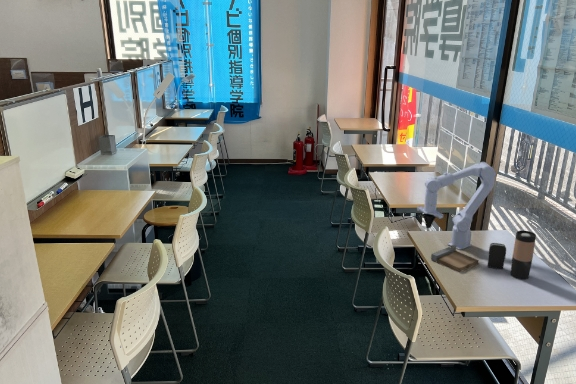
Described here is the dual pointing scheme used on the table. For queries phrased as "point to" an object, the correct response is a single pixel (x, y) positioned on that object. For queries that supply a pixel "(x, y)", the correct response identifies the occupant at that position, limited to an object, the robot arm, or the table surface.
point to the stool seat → (457, 260)
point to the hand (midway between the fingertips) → (428, 227)
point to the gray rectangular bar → (441, 253)
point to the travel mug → (522, 254)
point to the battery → (496, 255)
